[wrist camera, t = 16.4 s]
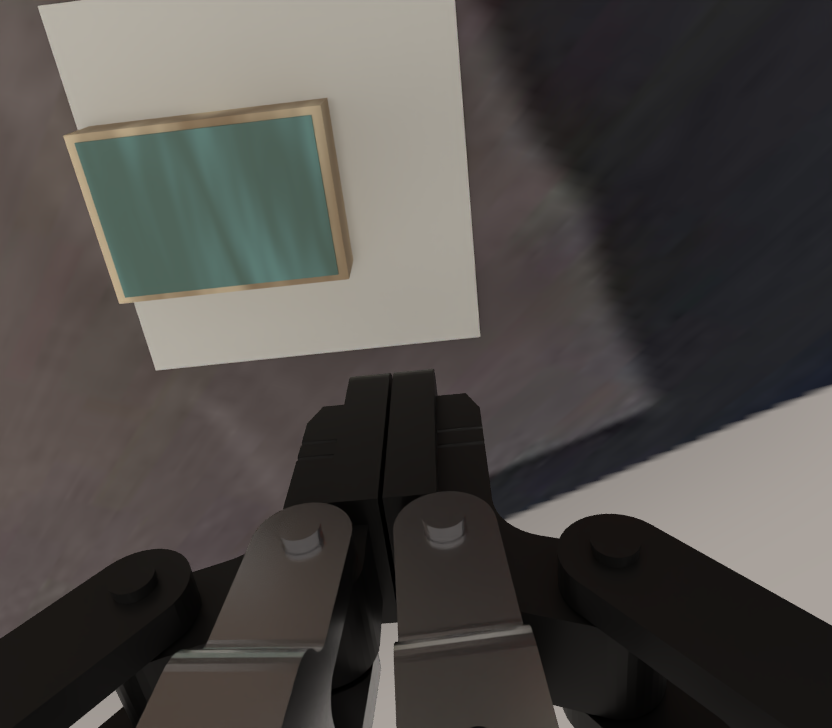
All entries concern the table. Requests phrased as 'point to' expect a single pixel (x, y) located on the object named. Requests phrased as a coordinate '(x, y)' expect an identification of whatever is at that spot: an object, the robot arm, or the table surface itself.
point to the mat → (354, 142)
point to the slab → (216, 200)
